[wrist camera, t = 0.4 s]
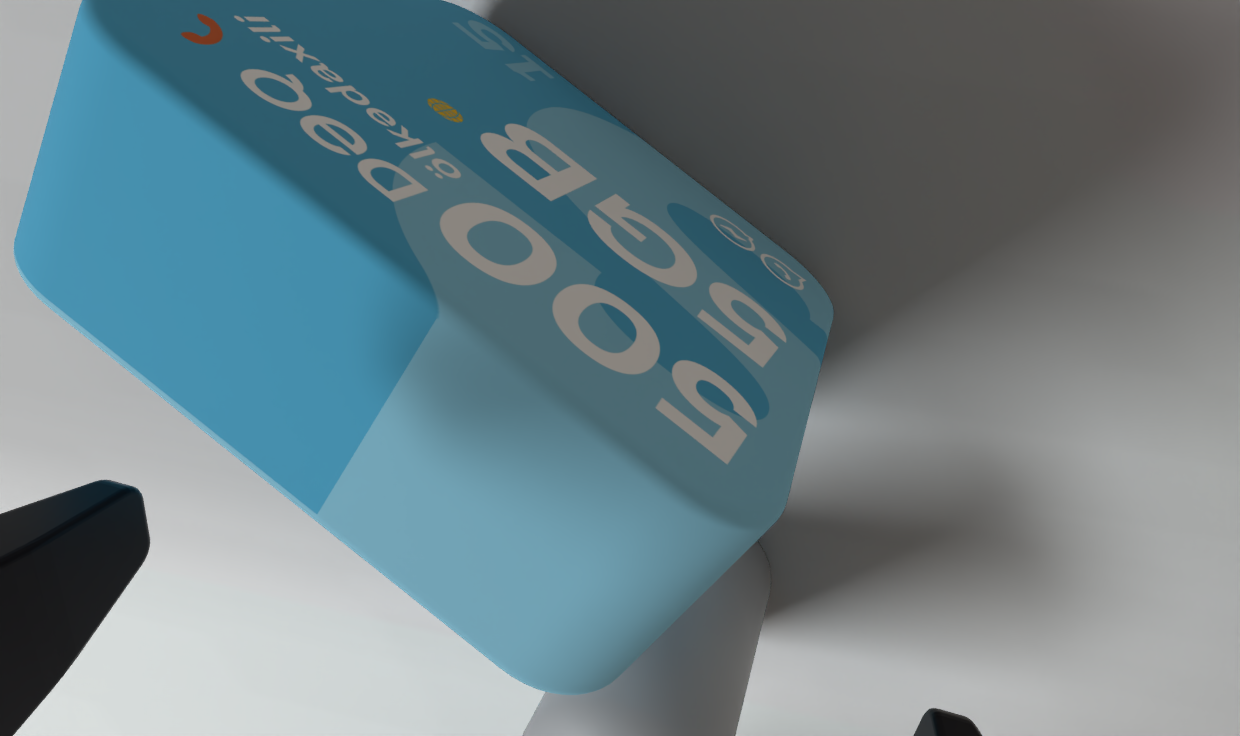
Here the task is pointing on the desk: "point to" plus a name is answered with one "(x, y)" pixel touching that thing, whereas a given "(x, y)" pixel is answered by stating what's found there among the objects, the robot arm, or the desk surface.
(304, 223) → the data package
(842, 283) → the desk surface
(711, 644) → the grey cylinder
